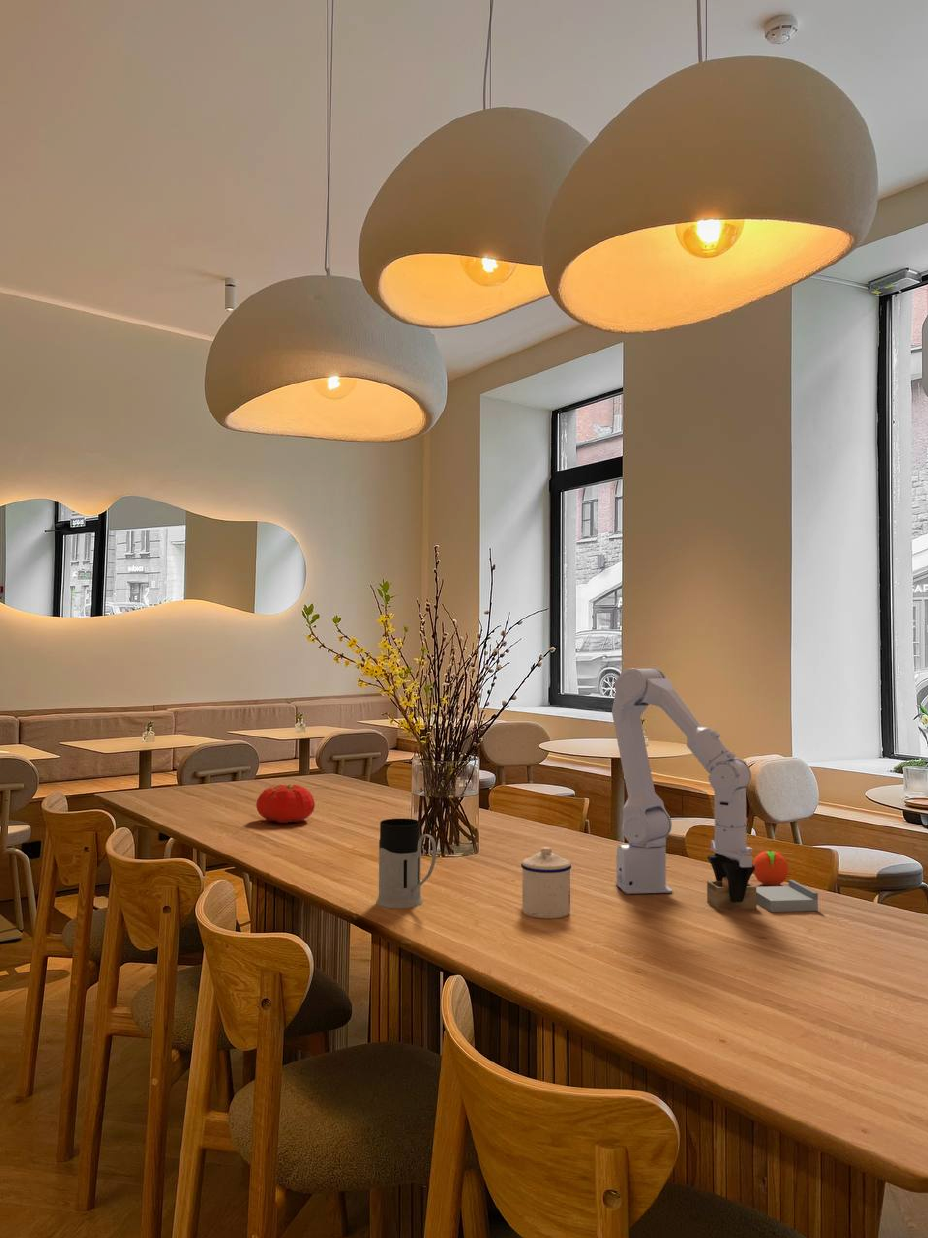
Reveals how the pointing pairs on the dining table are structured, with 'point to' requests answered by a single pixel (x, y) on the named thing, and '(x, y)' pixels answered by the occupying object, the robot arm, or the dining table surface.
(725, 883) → the ball
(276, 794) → the tomato
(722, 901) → the open wooden crate
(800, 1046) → the dining table surface
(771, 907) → the dock
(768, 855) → the red fruit
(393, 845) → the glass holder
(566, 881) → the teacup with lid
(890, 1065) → the dining table surface
